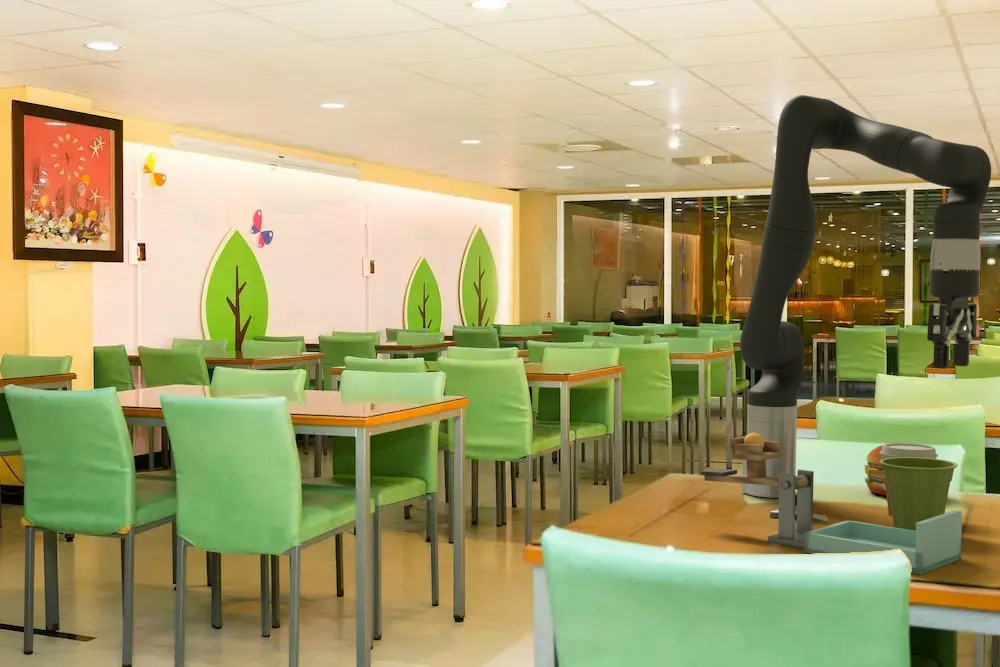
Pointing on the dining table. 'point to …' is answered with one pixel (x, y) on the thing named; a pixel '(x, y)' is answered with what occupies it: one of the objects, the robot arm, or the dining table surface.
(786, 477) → the catapult base
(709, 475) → the lever
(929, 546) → the tray
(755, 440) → the ball
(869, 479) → the burger
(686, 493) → the dining table surface
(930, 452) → the disposable coffee cup
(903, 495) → the plant pot
